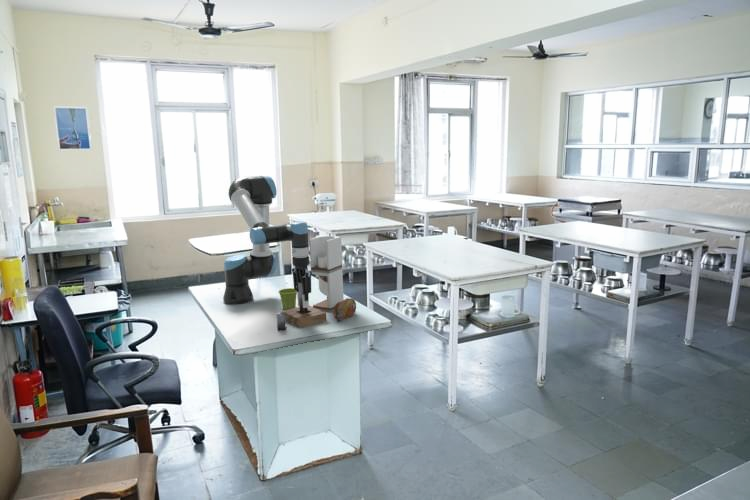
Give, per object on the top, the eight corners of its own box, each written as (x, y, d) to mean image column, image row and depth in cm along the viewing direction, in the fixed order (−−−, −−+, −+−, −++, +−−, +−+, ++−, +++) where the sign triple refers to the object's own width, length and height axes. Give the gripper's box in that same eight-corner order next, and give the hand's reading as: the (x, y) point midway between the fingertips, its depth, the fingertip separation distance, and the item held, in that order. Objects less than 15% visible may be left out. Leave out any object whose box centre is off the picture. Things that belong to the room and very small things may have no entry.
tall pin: (298, 311, 242) (296, 282, 239) (304, 310, 244) (303, 280, 242) (302, 313, 239) (300, 283, 237) (309, 311, 242) (307, 282, 239)
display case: (326, 303, 268) (323, 235, 261) (343, 306, 263) (341, 236, 256) (312, 309, 258) (309, 239, 252) (330, 312, 253) (327, 240, 246)
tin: (338, 322, 238) (337, 305, 236) (332, 321, 240) (331, 304, 238) (356, 313, 250) (356, 296, 249) (351, 312, 252) (350, 295, 250)
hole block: (282, 319, 244) (281, 311, 244) (307, 312, 253) (307, 304, 252) (300, 328, 232) (299, 319, 231) (326, 320, 241) (326, 312, 240)
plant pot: (294, 310, 257) (293, 293, 255) (276, 310, 259) (275, 293, 257) (301, 305, 266) (300, 288, 264) (283, 304, 268) (282, 288, 266)
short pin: (275, 329, 231) (275, 314, 230) (283, 327, 233) (282, 312, 232) (280, 331, 228) (279, 316, 227) (287, 329, 231) (286, 314, 229)
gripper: (284, 254, 241) (287, 304, 245) (303, 260, 228) (306, 312, 233) (298, 252, 246) (300, 301, 250) (317, 257, 233) (320, 308, 237)
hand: (303, 306), depth 241 cm, fingers closed on tall pin, 4 cm apart
